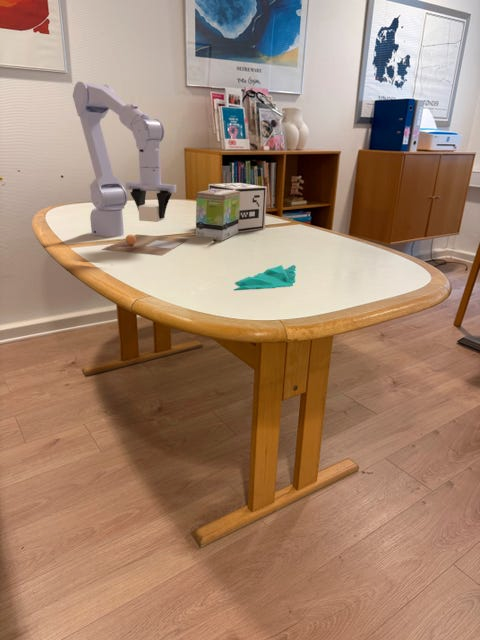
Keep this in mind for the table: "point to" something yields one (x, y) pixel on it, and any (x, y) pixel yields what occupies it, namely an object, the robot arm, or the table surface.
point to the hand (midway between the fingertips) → (152, 217)
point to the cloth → (269, 279)
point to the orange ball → (130, 239)
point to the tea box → (217, 213)
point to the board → (148, 245)
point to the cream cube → (149, 213)
